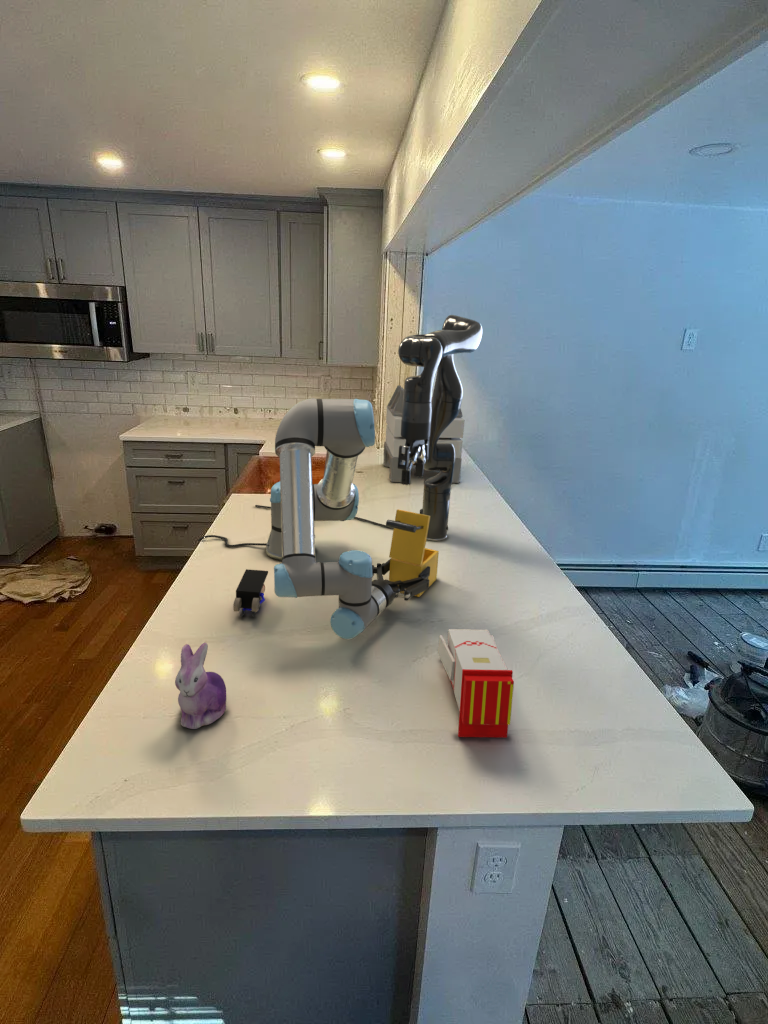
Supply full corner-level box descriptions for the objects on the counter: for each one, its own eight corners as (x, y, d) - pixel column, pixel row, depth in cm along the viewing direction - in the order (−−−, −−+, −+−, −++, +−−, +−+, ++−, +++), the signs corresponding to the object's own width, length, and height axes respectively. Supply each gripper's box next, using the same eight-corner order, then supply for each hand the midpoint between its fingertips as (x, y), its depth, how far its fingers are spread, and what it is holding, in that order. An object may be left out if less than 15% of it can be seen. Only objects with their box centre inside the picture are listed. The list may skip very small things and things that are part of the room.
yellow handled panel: (398, 509, 156) (385, 510, 148) (430, 515, 152) (418, 517, 144) (390, 556, 158) (377, 560, 150) (422, 564, 154) (410, 568, 146)
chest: (407, 571, 171) (409, 544, 168) (436, 579, 167) (438, 551, 164) (388, 588, 161) (389, 559, 157) (419, 597, 157) (421, 567, 154)
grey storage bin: (382, 463, 289) (386, 382, 275) (445, 464, 293) (451, 384, 279) (390, 482, 257) (394, 392, 243) (460, 483, 261) (468, 394, 247)
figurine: (182, 738, 102) (175, 668, 97) (173, 704, 111) (167, 638, 106) (234, 723, 106) (231, 655, 101) (222, 691, 115) (218, 627, 110)
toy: (488, 613, 130) (523, 677, 101) (484, 667, 133) (517, 744, 104) (435, 612, 130) (455, 676, 101) (432, 666, 133) (451, 743, 103)
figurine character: (260, 625, 142) (270, 591, 155) (258, 600, 138) (268, 567, 152) (233, 624, 141) (245, 590, 155) (230, 599, 138) (243, 567, 152)
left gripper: (334, 600, 147) (374, 569, 166) (415, 624, 138) (447, 588, 156) (334, 574, 144) (375, 545, 163) (416, 597, 135) (449, 563, 154)
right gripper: (418, 425, 136) (414, 489, 141) (440, 416, 148) (435, 476, 153) (390, 421, 139) (387, 484, 144) (414, 413, 151) (410, 472, 156)
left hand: (410, 566), depth 160 cm, fingers open, 10 cm apart
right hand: (412, 480), depth 149 cm, fingers open, 8 cm apart
